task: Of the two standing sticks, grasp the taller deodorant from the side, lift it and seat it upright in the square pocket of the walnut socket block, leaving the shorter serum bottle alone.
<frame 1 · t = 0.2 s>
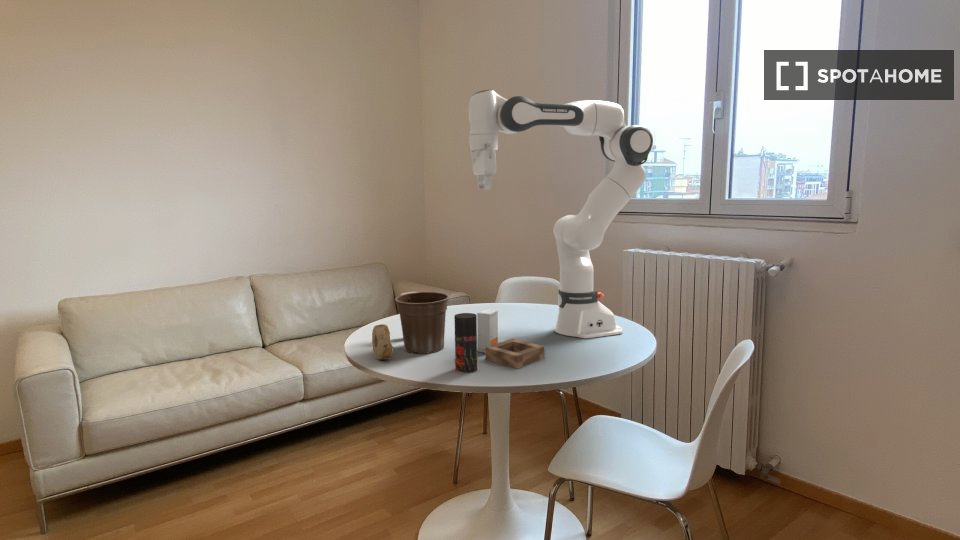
hand: (484, 189, 171), 48 cm above the table, tool pointing down, fingers open, 8 cm apart
stone disc: (382, 359, 157), on the table
plant pot: (423, 348, 167), on the table
skincare box: (487, 350, 164), on the table
walnut socket block: (515, 358, 156), on the table
handle: (412, 338, 178), on the table
deodorant: (466, 370, 147), on the table
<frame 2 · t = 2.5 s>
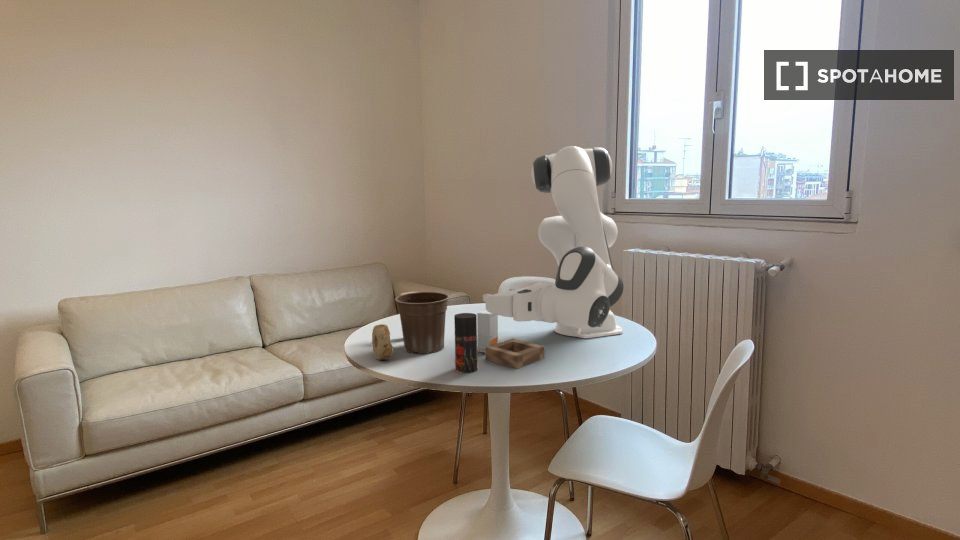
hand: (497, 294, 135), 22 cm above the table, tool horizontal, fingers open, 8 cm apart
nothing on the table moved.
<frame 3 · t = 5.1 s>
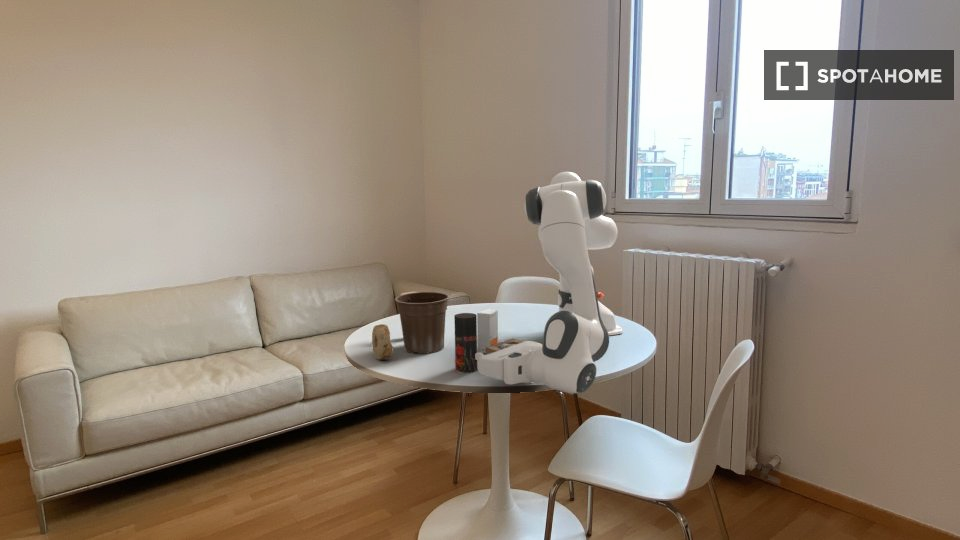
hand: (489, 351, 140), 7 cm above the table, tool horizontal, fingers open, 8 cm apart
nothing on the table moved.
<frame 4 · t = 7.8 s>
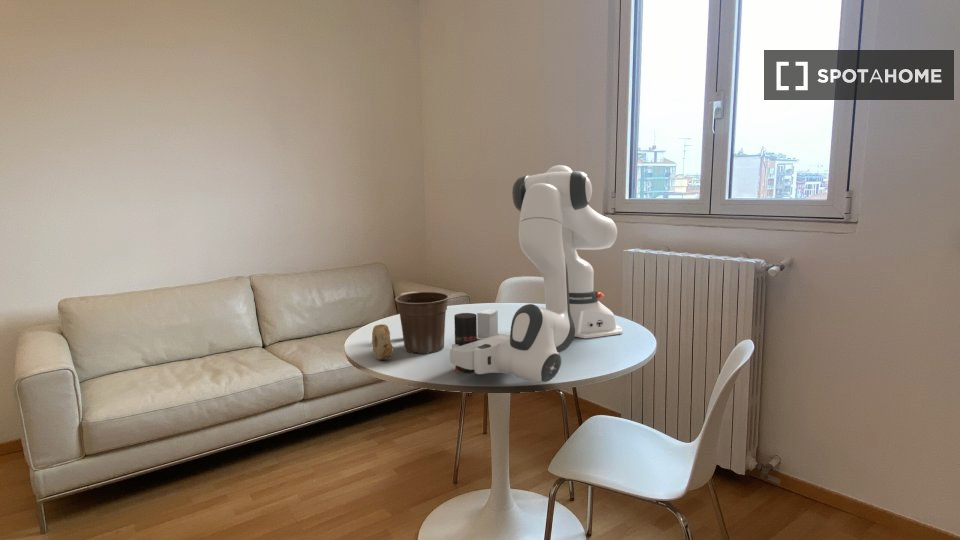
hand: (463, 343, 147), 7 cm above the table, tool horizontal, fingers closed on deodorant, 6 cm apart
deodorant: (466, 370, 147), on the table, touching gripper
everything else where it was.
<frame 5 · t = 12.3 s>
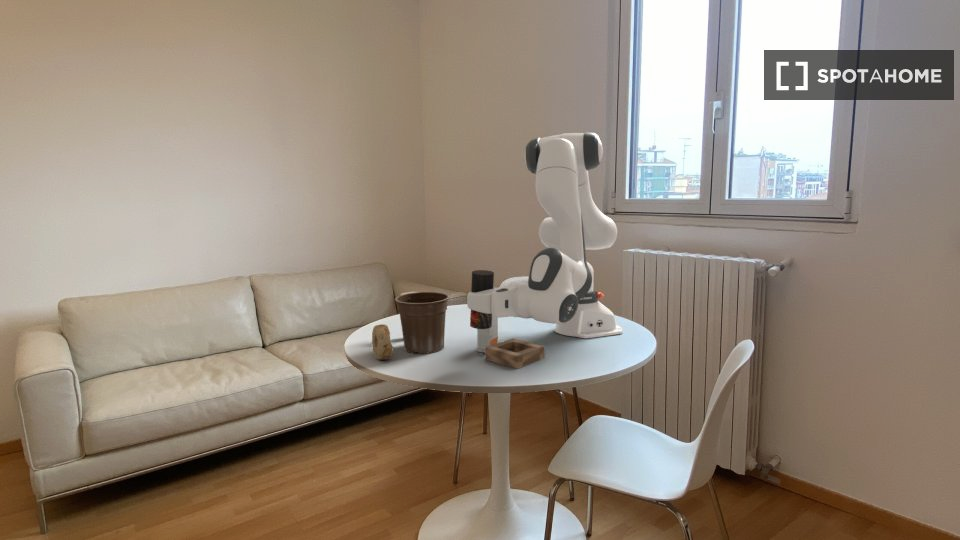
hand: (479, 292, 148), 20 cm above the table, tool horizontal, fingers closed on deodorant, 6 cm apart
deodorant: (480, 326, 149), point 11 cm above the table, touching gripper
everything else where it was.
when the fingers open (9 cm above the table, at t = 16.8 s): deodorant stays where it is, resting in walnut socket block.
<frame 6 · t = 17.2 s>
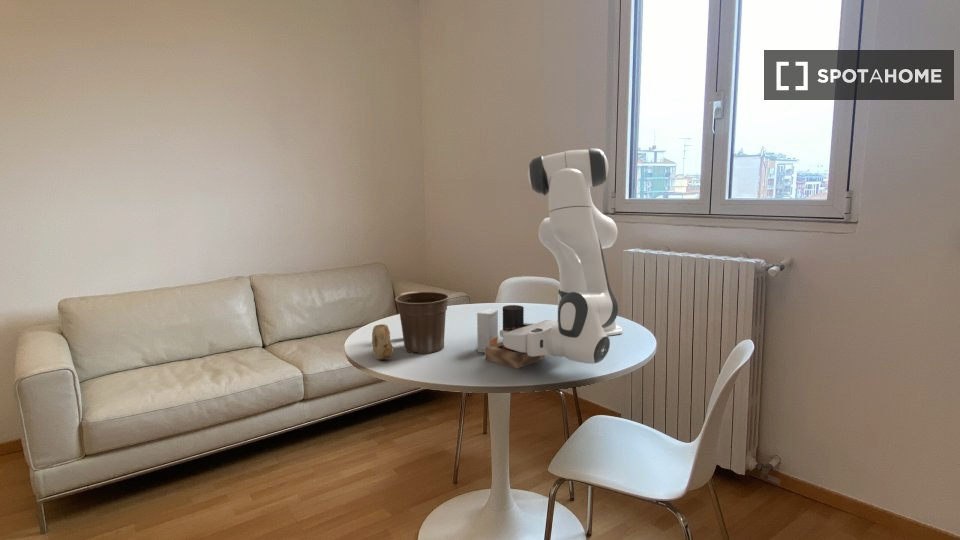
hand: (512, 329, 155), 9 cm above the table, tool horizontal, fingers open, 8 cm apart
deodorant: (513, 359, 156), resting in walnut socket block
everything else where it was.
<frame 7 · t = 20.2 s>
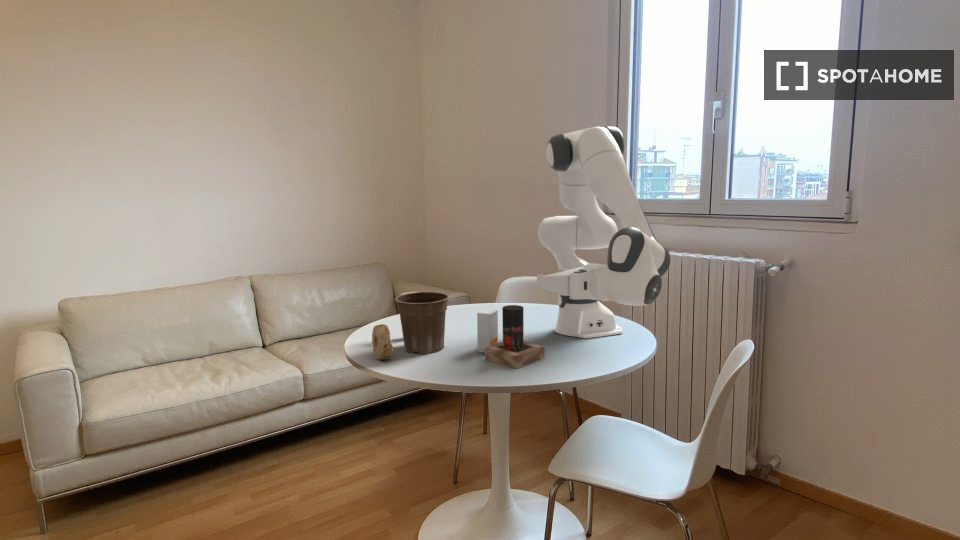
hand: (549, 275, 143), 26 cm above the table, tool horizontal, fingers open, 8 cm apart
nothing on the table moved.
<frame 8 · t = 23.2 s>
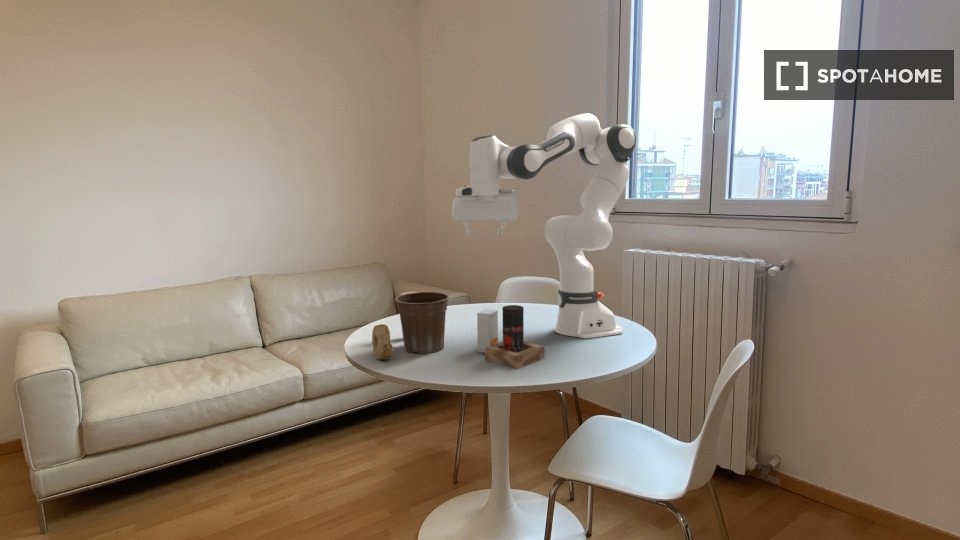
hand: (485, 235, 167), 34 cm above the table, tool pointing down, fingers open, 8 cm apart
nothing on the table moved.
at the end: deodorant 0.6 cm from the walnut socket block (horizontally); deodorant resting in walnut socket block; deodorant tilted 0° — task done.
